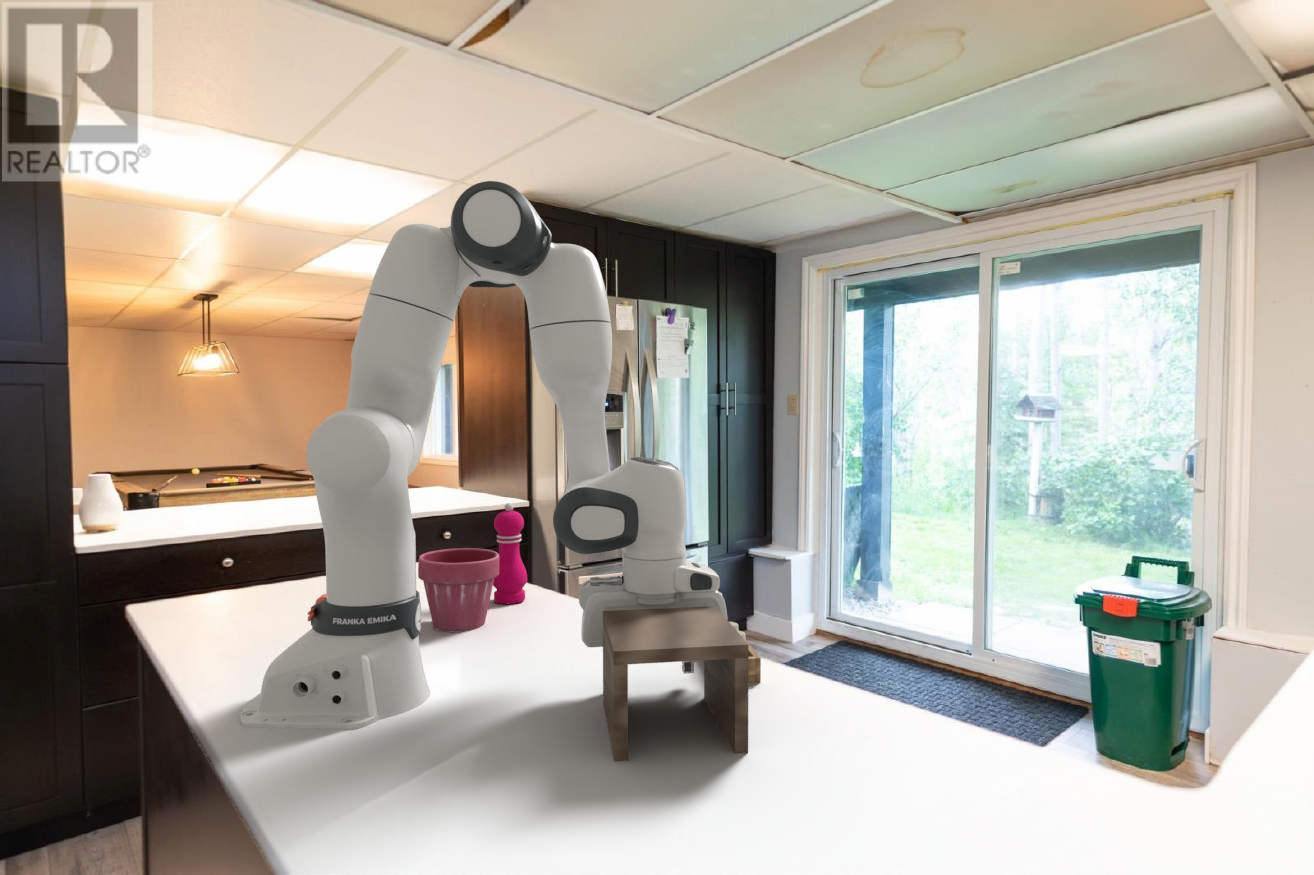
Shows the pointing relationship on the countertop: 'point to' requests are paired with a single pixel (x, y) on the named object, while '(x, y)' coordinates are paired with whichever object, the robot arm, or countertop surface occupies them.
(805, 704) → the countertop surface
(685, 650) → the brown wooden side table
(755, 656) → the teak tray
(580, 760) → the countertop surface
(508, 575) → the pepper mill
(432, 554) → the plant pot
